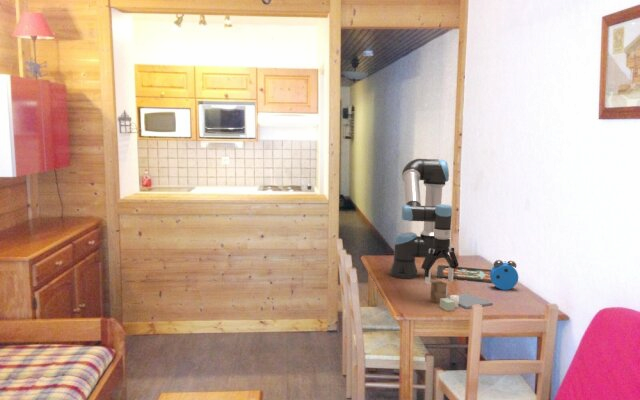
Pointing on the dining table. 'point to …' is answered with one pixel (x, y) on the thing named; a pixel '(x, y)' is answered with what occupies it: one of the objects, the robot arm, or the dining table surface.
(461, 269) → the painting
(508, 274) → the alarm clock
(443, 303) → the sage block
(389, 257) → the dining table surface
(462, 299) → the grey mat
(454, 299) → the cream cylinder
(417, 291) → the dining table surface
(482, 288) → the dining table surface
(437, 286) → the walnut block
